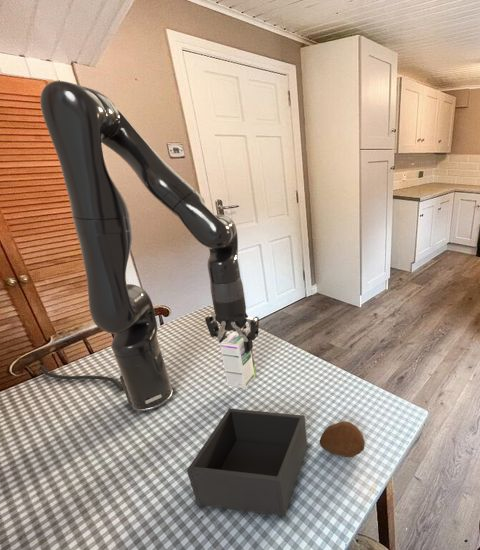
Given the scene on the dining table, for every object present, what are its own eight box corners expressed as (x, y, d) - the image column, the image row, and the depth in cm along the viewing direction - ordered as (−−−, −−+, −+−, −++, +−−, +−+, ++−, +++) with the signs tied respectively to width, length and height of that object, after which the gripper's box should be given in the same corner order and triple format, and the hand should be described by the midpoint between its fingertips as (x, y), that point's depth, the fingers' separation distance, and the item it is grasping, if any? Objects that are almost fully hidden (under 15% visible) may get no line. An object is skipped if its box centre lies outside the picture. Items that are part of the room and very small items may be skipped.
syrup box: (245, 389, 84) (239, 345, 79) (226, 386, 85) (219, 342, 80) (256, 375, 89) (251, 333, 84) (238, 372, 90) (232, 331, 85)
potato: (324, 432, 74) (323, 411, 71) (366, 437, 73) (367, 415, 70) (316, 459, 67) (315, 436, 65) (363, 465, 66) (363, 441, 64)
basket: (197, 505, 58) (186, 470, 55) (235, 439, 72) (229, 408, 68) (285, 516, 57) (279, 481, 53) (307, 447, 70) (304, 415, 67)
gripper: (261, 290, 80) (267, 344, 86) (210, 287, 81) (219, 340, 87) (248, 303, 73) (256, 361, 79) (192, 299, 74) (204, 356, 80)
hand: (237, 349), depth 83 cm, fingers closed on syrup box, 6 cm apart
